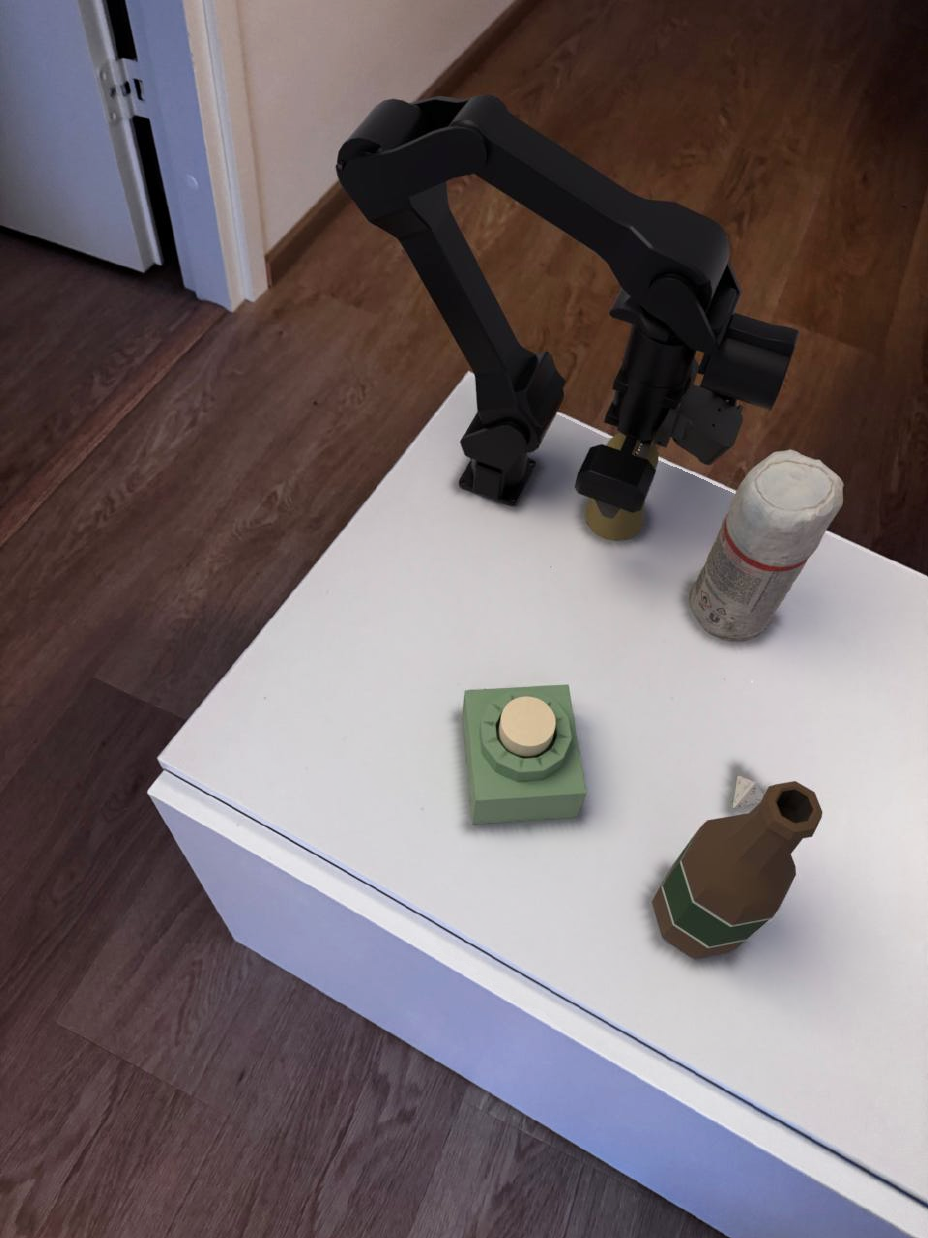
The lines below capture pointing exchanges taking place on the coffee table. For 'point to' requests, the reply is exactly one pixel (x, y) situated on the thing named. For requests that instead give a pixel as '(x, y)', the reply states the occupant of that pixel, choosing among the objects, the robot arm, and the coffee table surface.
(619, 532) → the olive game pawn
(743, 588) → the spray can
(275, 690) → the coffee table surface
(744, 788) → the white speckled wedge
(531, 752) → the beige push button
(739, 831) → the beer bottle
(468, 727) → the green button housing
